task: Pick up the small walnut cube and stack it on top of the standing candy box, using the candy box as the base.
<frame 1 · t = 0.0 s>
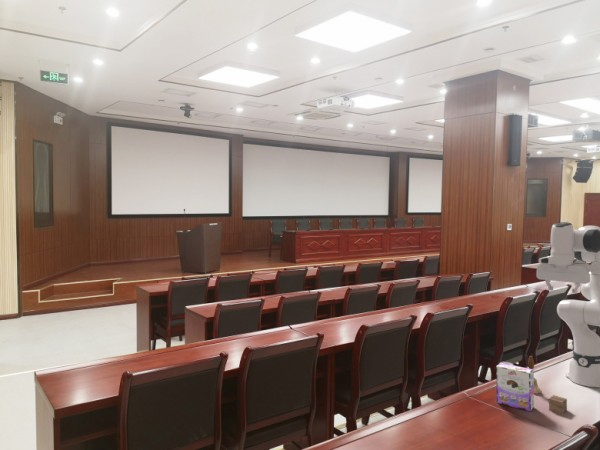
hand: (562, 291, 188), 48 cm above the table, fingers open, 8 cm apart
candy box: (515, 405, 186), on the table
hand bell: (531, 390, 201), on the table
soda can: (506, 389, 203), on the table
walnut cube: (558, 410, 180), on the table
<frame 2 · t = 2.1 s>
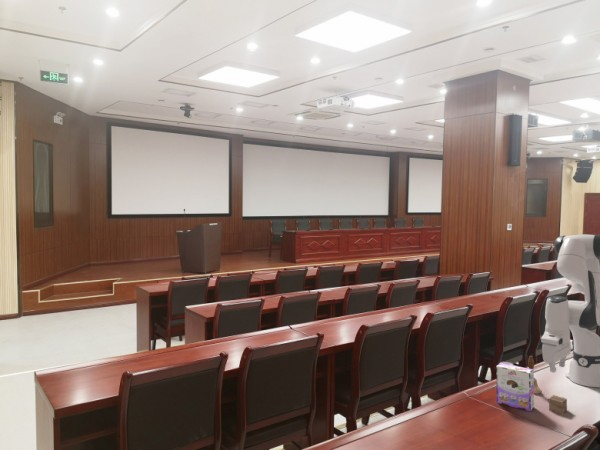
hand: (557, 369, 180), 17 cm above the table, fingers open, 8 cm apart
nothing on the table moved.
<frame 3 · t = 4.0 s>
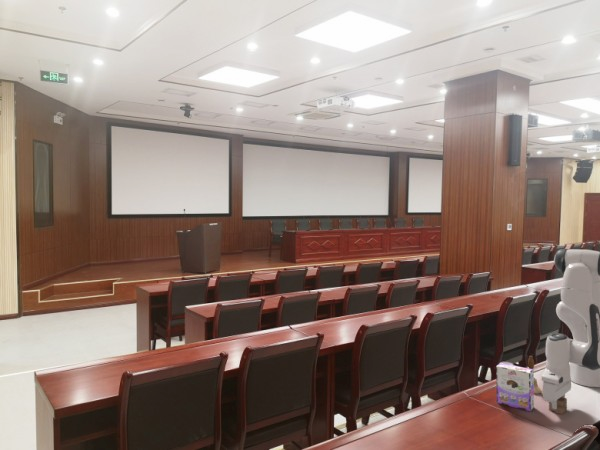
hand: (558, 406, 180), 2 cm above the table, fingers closed on walnut cube, 5 cm apart
walnut cube: (557, 410, 180), on the table, touching gripper
everything else where it was.
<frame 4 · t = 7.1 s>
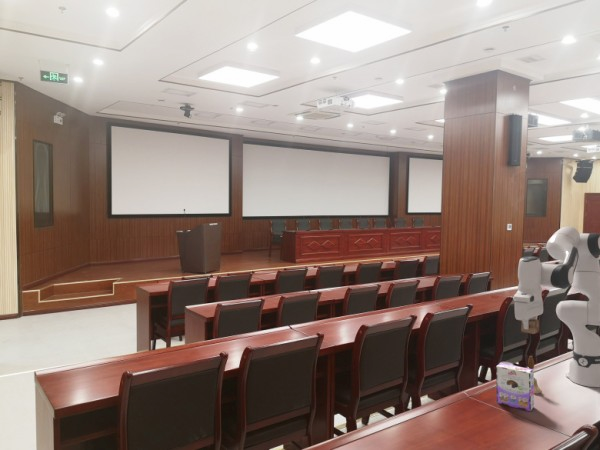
hand: (529, 327, 183), 34 cm above the table, fingers closed on walnut cube, 5 cm apart
walnut cube: (530, 331, 183), point 32 cm above the table, touching gripper
everything else where it was.
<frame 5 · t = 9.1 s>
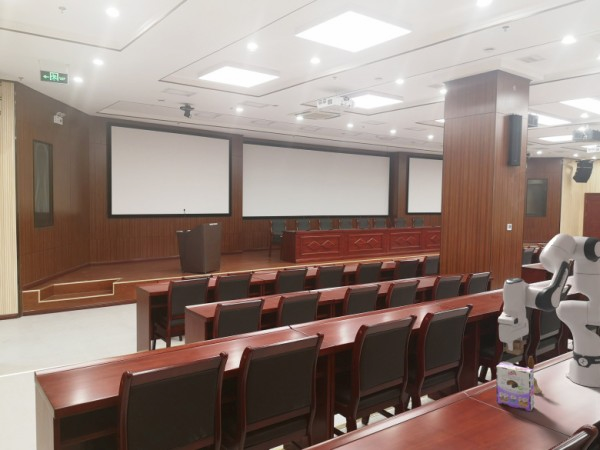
hand: (514, 348, 185), 25 cm above the table, fingers closed on walnut cube, 5 cm apart
walnut cube: (514, 352, 185), point 23 cm above the table, touching gripper
everything else where it was.
when the fingers open (19 cm above the table, at t = 10.6 s): walnut cube stays where it is, resting on candy box.
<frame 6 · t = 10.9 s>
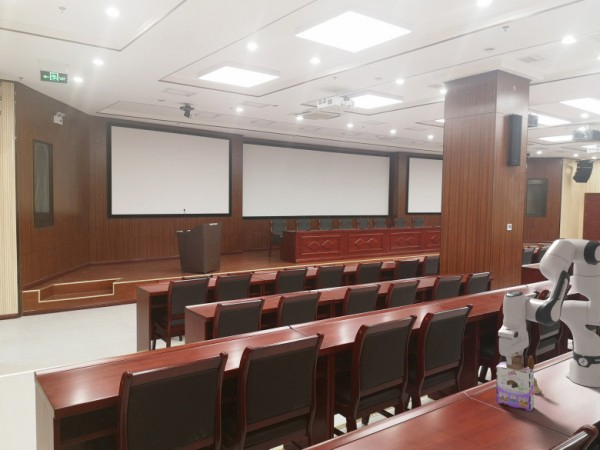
hand: (514, 361, 186), 19 cm above the table, fingers open, 8 cm apart
candy box: (515, 405, 186), on the table, touching walnut cube
walnut cube: (514, 367, 186), point 16 cm above the table, touching candy box
everything else where it was.
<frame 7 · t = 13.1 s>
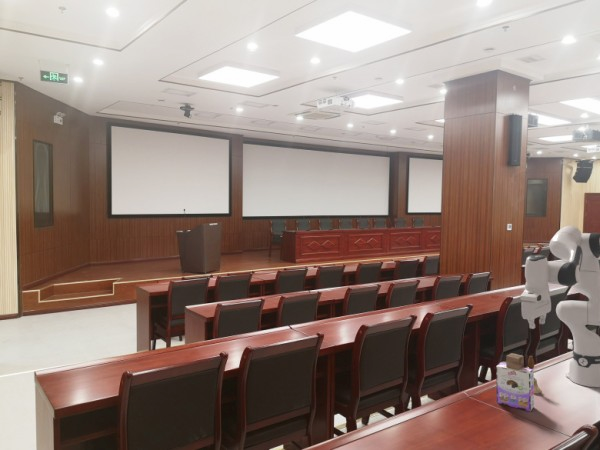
hand: (537, 326, 183), 35 cm above the table, fingers open, 8 cm apart
nothing on the table moved.
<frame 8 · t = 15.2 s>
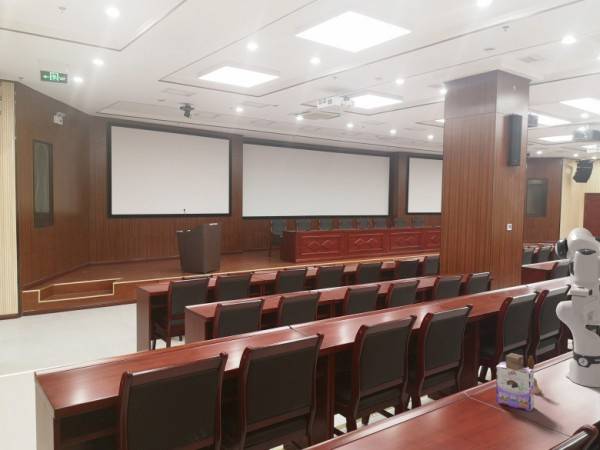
hand: (586, 322, 178), 37 cm above the table, fingers open, 8 cm apart
nothing on the table moved.
at the end: walnut cube inside the target area on the candy box (0.1 cm from its centre), point 16.6 cm above the candy box's base; candy box tilted 0°; the gripper is holding nothing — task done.
